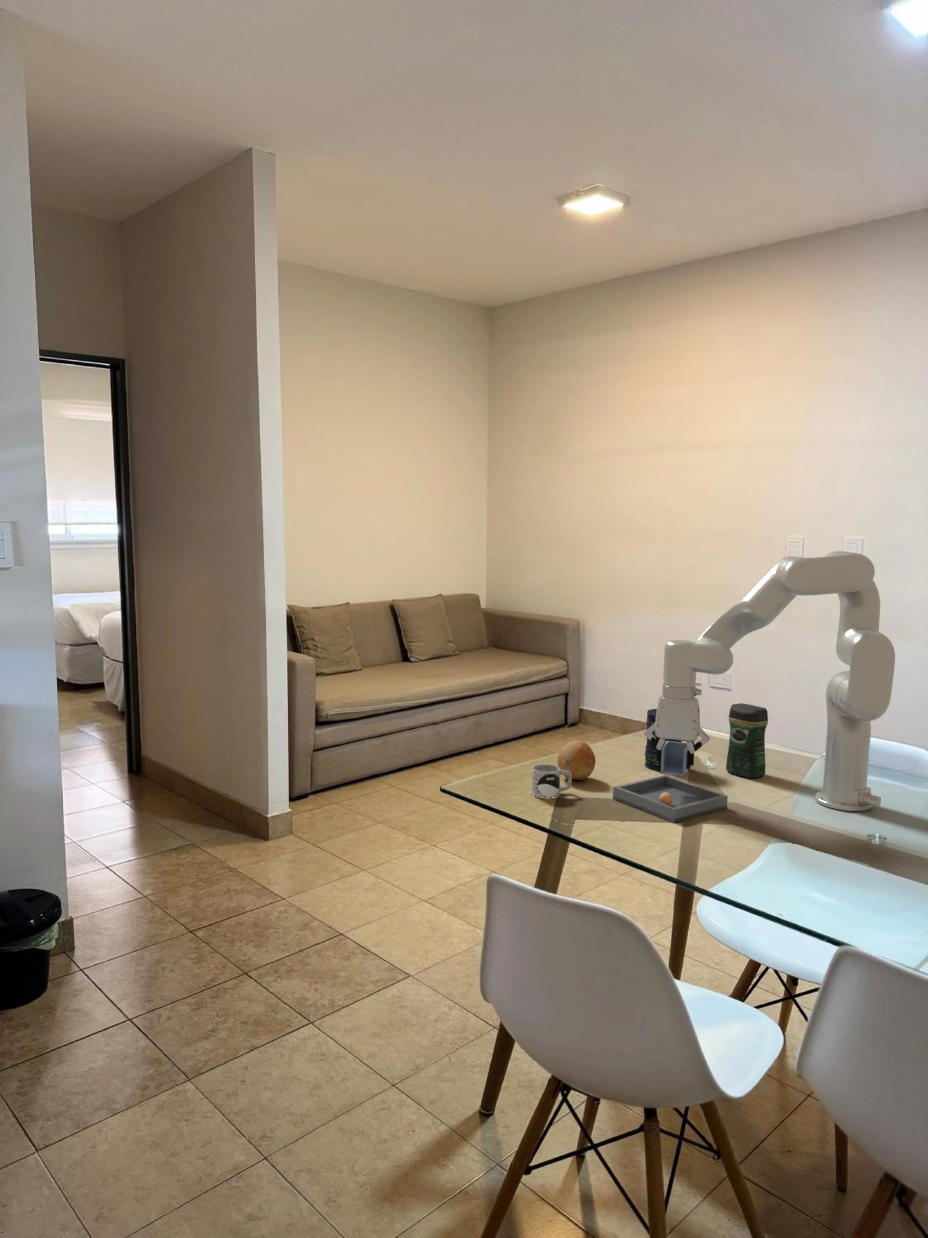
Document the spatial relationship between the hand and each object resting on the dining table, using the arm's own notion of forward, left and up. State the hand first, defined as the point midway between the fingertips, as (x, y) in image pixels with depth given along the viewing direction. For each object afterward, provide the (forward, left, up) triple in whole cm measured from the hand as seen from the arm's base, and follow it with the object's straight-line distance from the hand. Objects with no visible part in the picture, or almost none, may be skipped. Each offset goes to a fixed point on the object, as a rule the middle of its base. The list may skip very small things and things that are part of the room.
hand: (675, 766), depth 208 cm
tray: (-3, +4, -8) cm, 9 cm away
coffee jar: (+3, -32, -8) cm, 33 cm away
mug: (+17, +23, -8) cm, 30 cm away
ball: (-4, +8, -6) cm, 10 cm away
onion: (+23, +10, -8) cm, 27 cm away
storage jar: (+19, -18, -8) cm, 28 cm away
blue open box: (0, 0, -1) cm, 1 cm away
